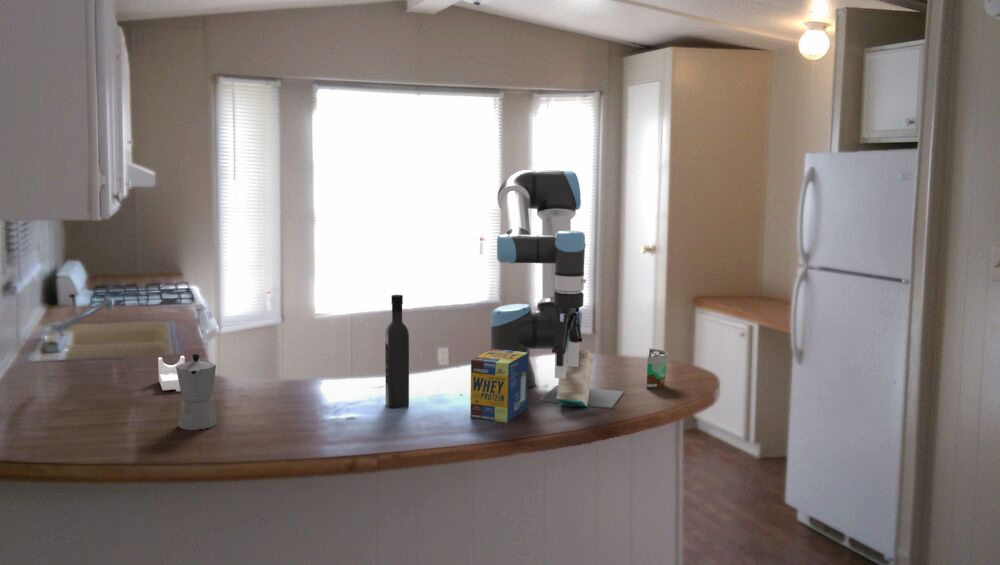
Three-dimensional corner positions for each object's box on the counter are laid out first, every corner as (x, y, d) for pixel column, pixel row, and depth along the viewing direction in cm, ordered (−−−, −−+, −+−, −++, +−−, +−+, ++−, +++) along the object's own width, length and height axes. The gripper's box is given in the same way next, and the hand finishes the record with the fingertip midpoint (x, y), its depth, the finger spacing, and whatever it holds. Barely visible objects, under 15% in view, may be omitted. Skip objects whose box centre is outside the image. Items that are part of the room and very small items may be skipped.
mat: (540, 401, 254) (540, 400, 254) (556, 386, 271) (556, 385, 271) (611, 408, 248) (611, 407, 248) (623, 392, 265) (623, 391, 265)
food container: (667, 391, 267) (669, 358, 266) (646, 390, 268) (647, 356, 267) (668, 381, 279) (670, 349, 278) (648, 380, 280) (649, 348, 279)
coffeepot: (215, 431, 223) (213, 359, 221) (174, 434, 221) (172, 360, 218) (220, 414, 238) (218, 345, 235) (181, 416, 236) (179, 347, 233)
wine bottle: (388, 408, 245) (388, 297, 241) (384, 403, 250) (384, 294, 246) (409, 407, 247) (409, 296, 243) (405, 401, 252) (405, 293, 248)
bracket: (159, 382, 270) (158, 357, 269) (184, 380, 273) (183, 355, 272) (162, 393, 258) (161, 367, 257) (189, 391, 261) (188, 365, 260)
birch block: (556, 399, 245) (563, 348, 249) (561, 404, 251) (568, 355, 256) (582, 402, 243) (588, 350, 247) (587, 407, 249) (593, 357, 253)
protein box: (469, 418, 238) (470, 359, 236) (492, 403, 252) (492, 348, 250) (507, 423, 234) (508, 363, 232) (528, 408, 248) (529, 351, 246)
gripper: (571, 299, 224) (569, 384, 227) (593, 285, 247) (591, 362, 250) (541, 297, 226) (539, 381, 229) (566, 283, 250) (564, 360, 253)
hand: (566, 372), depth 240 cm, fingers open, 13 cm apart
